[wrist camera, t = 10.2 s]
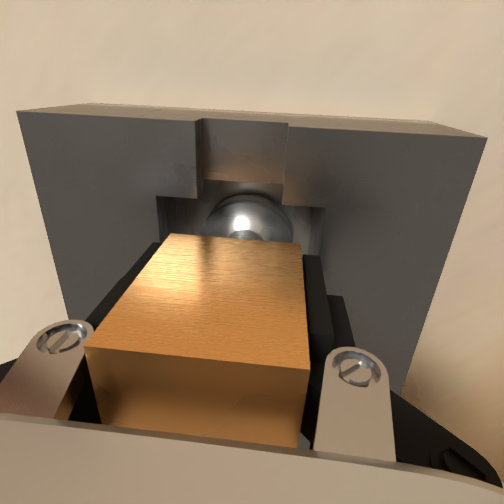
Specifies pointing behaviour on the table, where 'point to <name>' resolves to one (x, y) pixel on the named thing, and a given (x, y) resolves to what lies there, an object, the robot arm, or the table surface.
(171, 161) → the keyhole track
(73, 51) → the table surface
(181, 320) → the peg
